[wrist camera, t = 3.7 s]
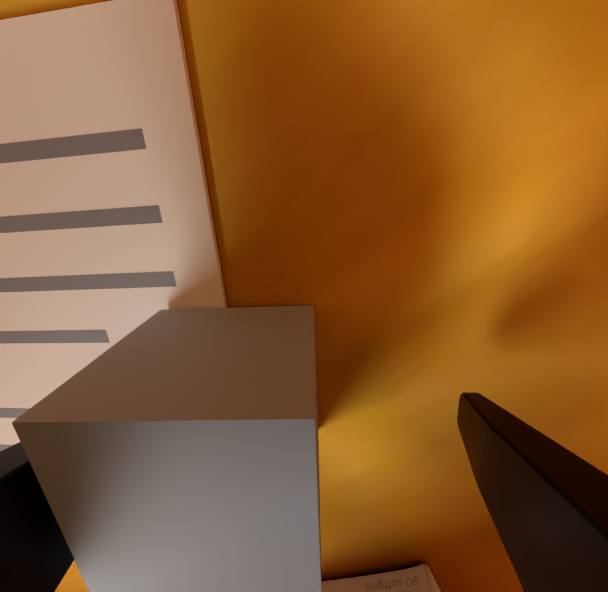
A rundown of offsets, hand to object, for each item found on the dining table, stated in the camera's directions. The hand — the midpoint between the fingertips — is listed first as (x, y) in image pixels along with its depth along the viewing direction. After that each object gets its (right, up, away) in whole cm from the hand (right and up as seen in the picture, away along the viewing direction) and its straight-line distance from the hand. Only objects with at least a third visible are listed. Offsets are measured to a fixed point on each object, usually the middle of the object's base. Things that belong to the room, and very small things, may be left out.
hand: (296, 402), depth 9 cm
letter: (-9, 0, +3) cm, 10 cm away
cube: (-2, 0, +2) cm, 3 cm away
